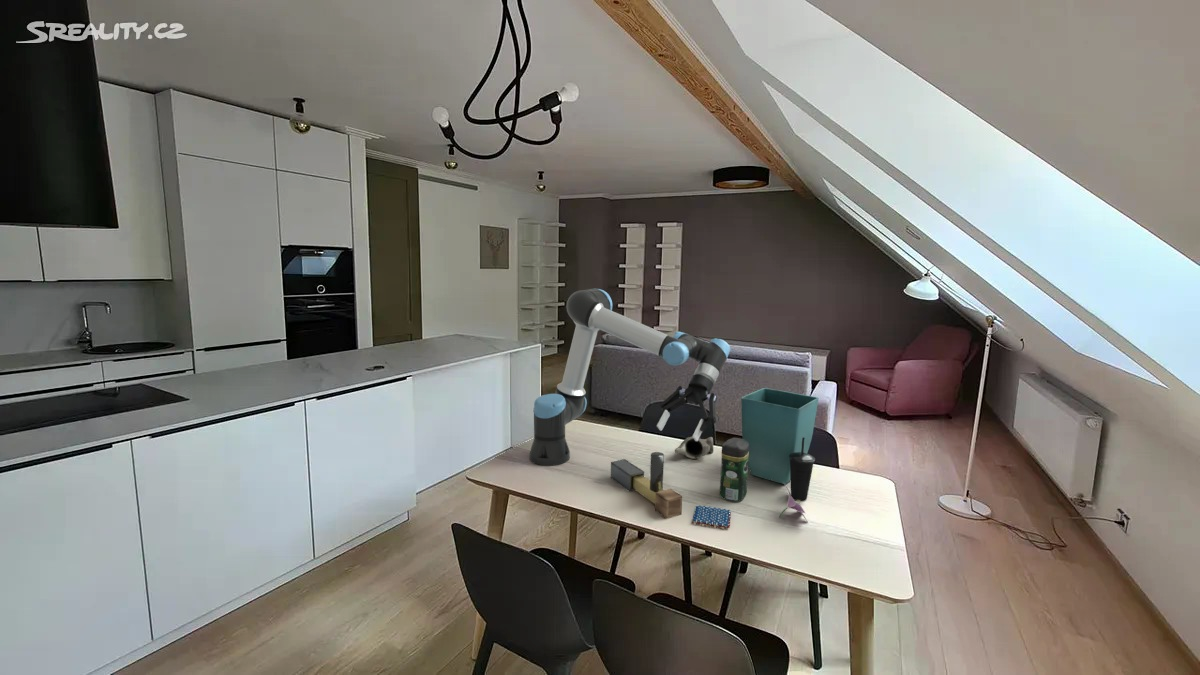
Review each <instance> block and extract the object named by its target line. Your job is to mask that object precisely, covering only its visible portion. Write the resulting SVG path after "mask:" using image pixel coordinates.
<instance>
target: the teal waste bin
mask: <svg viewBox="0 0 1200 675" xmlns="http://www.w3.org/2000/svg"><path fill="white" fill-rule="evenodd" d="M740 402H741V404H740V406H741V436H742V438H741V439H744V440H746V441H747V442H748V444H749V456H748V470H749V472H750V474H751V475H752V476H755V477H758V478H761V479H763V480H764V479H765V480H768V481H770V482H775V483H778V484H782V485H784V484H785V485H787V484H788V483H789V482H790V458H789V455H790V454H791V453H795V452H801V449H802V438H803V437H804V438H805V440H804V453H807V454H809V453H808V452H809V449H810V446H811V443H812V439H813V434H814V428H815V422H816V416H817V412H818V411H817V410H818V403H819V397H817V396H812V395H806V394H802V393H801V394H800V393H797V392H795V393H794V392H792V391H791V392H789V391H784V390H780V389H773V388H767V387H763V388H760V389H758V390H756V391H755V390H754V391H753V392H751V393H748V394H746V395H743V396H742V397H741V399H740ZM782 481H783V482H784V483H783V482H782Z"/></svg>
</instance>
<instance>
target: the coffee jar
mask: <svg viewBox="0 0 1200 675" xmlns="http://www.w3.org/2000/svg"><path fill="white" fill-rule="evenodd" d="M748 456H749V444H748V442H747V441H746V440H744V439H743V438H740V437H732V438H730V439H727V440H726V441H724V442H723V444H722V445H721V465H720V466H721V467H720V468H721V469H720V479H719V480H720V481H719V482H720V483H719V496H720V497H721V498H722V499H724V500H726V501H729V502H741V501H742V500H744V499H745V497H747V494H748V473H749V472H748V470H749V467H748Z"/></svg>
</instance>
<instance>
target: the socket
mask: <svg viewBox="0 0 1200 675" xmlns="http://www.w3.org/2000/svg"><path fill="white" fill-rule="evenodd" d="M682 509H683V495H681V494H680V493H678V491H675V490H674V489H672V488H667V489H664V490H663V491H660V492H656V500H655V504H654V511H655V512H657V513H658V514H660V515H661V516H662V518H664V519H666V520H667V519H671V518H674V517H677V516H680V515H681V516H682V511H683V510H682Z"/></svg>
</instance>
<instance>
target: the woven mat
mask: <svg viewBox="0 0 1200 675" xmlns="http://www.w3.org/2000/svg"><path fill="white" fill-rule="evenodd" d="M729 513H730V514H729ZM731 513H732V512H731V510H730V509H727V508H720V507H716V506H715V507H712V506H706V505H700V504H699V505H695V508H694V513H693V515H692V522H691V524H693V525H695V526H696V525H698V526H701V525H702V526H701V527H709V529H712V528H713V529H720V528H721V530H726V531H729V529H730V527H731V518H732V517H731V515H732V514H731ZM700 524H701V525H700Z"/></svg>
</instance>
